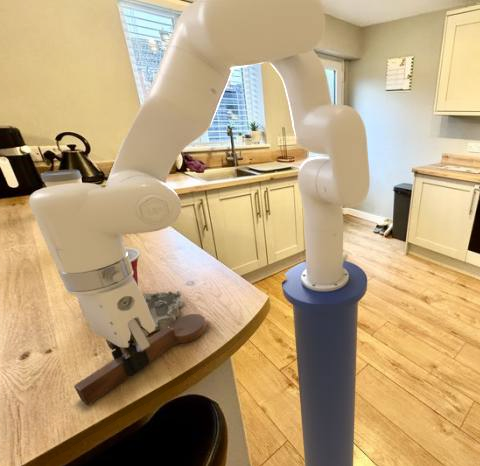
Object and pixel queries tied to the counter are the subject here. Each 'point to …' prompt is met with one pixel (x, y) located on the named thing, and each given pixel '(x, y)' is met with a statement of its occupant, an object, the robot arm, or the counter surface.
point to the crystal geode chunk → (163, 308)
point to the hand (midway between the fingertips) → (134, 366)
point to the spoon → (159, 342)
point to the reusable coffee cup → (61, 177)
